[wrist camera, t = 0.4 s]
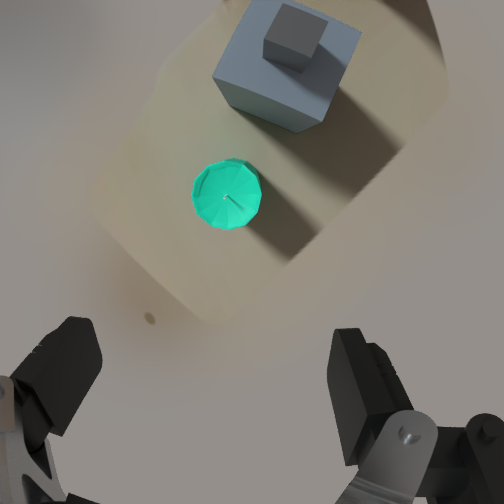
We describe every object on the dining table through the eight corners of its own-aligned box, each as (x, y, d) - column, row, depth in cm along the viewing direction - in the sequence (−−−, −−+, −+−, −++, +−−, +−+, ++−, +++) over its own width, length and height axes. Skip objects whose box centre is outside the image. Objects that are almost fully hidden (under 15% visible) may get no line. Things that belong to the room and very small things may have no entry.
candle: (270, 191, 36) (276, 210, 24) (226, 218, 37) (213, 248, 26) (242, 148, 34) (235, 146, 23) (199, 176, 35) (173, 187, 24)
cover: (257, 45, 30) (258, -37, 13) (323, 73, 31) (380, 13, 14) (229, 105, 33) (202, 61, 15) (296, 133, 34) (336, 115, 16)
